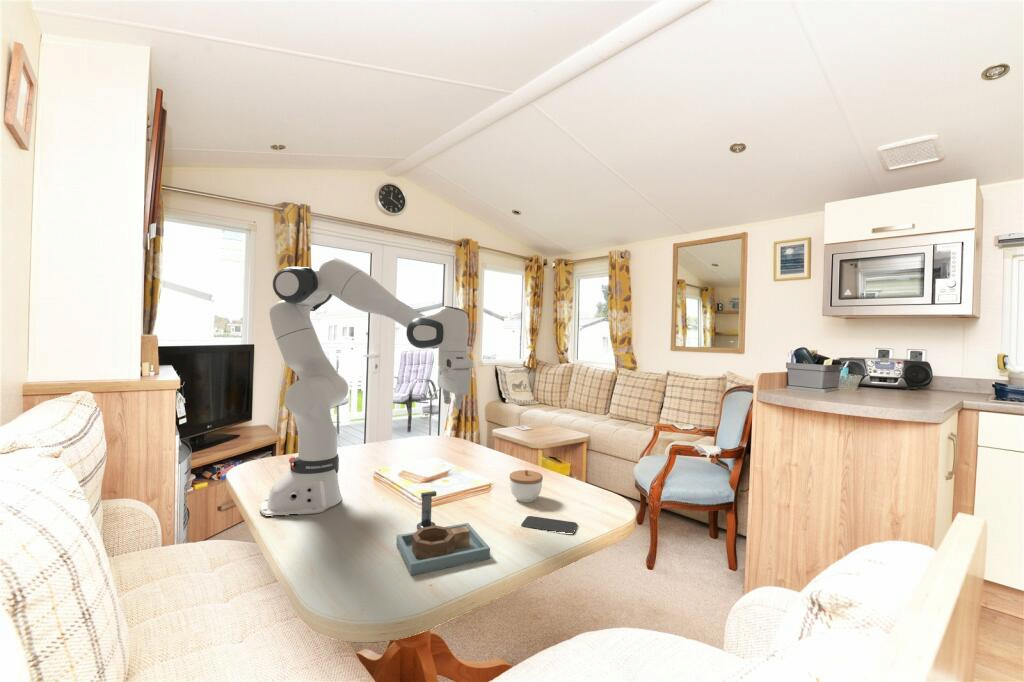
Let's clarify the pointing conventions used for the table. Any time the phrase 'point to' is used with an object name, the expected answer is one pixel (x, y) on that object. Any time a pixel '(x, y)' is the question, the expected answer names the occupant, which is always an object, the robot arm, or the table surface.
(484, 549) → the tray
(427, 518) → the stake
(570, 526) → the smartphone
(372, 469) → the table surface
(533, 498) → the lidded jar
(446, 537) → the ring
